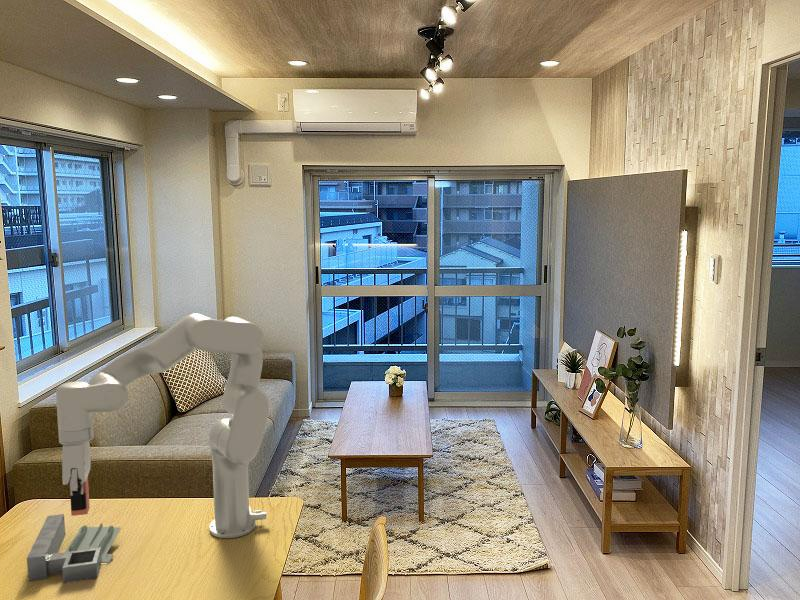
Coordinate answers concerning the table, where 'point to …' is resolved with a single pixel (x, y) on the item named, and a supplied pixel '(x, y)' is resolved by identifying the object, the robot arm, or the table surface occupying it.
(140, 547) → the table surface
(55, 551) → the grey socket fixture
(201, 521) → the table surface
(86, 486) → the red rectangular block
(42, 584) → the table surface
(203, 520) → the table surface
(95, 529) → the metal bracket
